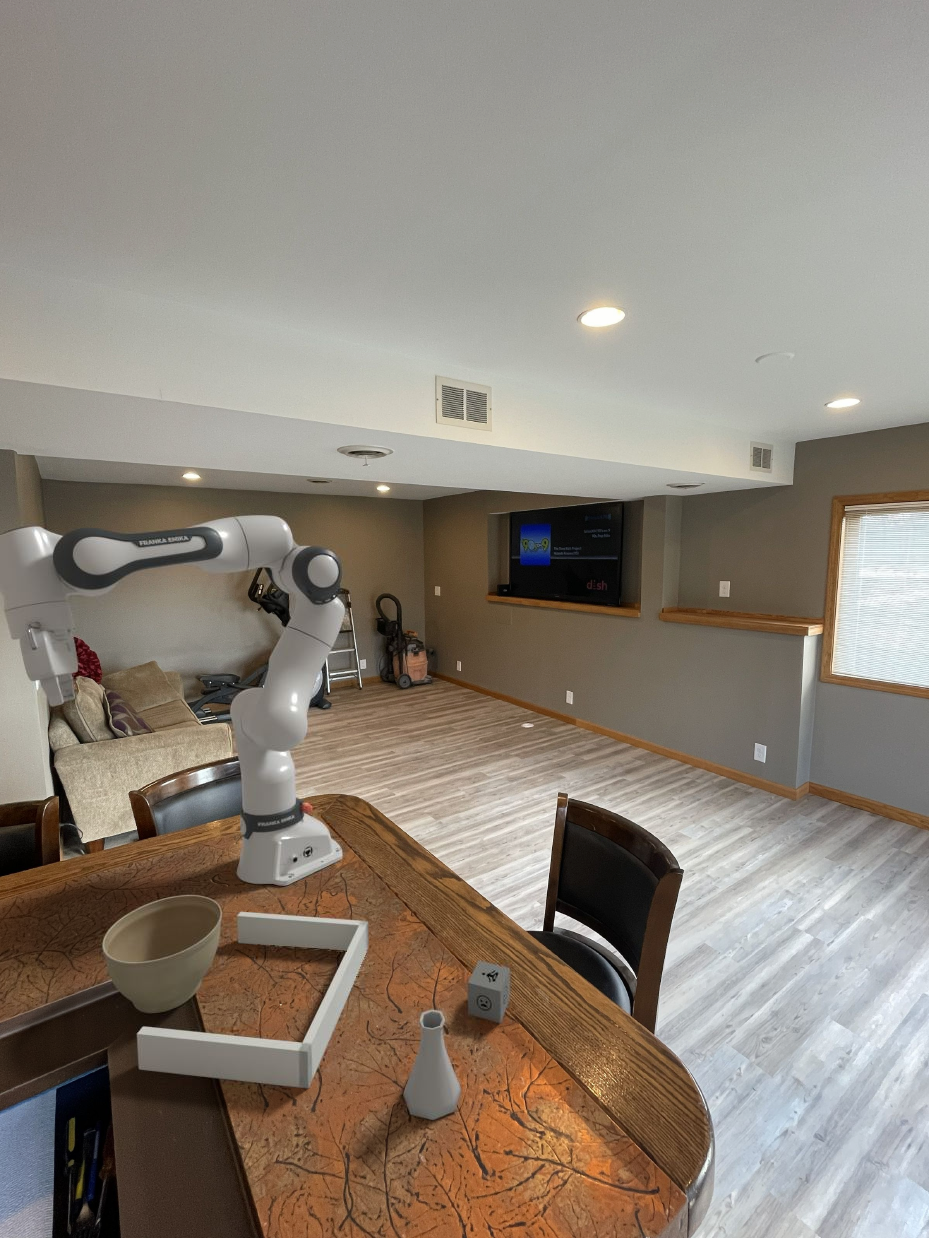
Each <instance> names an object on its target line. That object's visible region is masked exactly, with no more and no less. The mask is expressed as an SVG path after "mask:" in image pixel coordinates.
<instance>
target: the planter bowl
mask: <svg viewBox="0 0 929 1238" xmlns="http://www.w3.org/2000/svg"><path fill="white" fill-rule="evenodd" d="M222 915H223V910H222V908H221V906H220V904H219V903H218V901H216V900H214V899H212V898H210V897H206V896H202V895H196V894H184V895H176V896H169V897H165V898H162V899H158V900H155V901H151V902H149V903H147V904H144V905H142V906H139V907H138V908H136V909H134V910H132V911H131V912H129V913H127V914H126V915H124V916H122V917H120V918H119V919H118V920H117V921H116V922H115V923H114V924H113V925H112V926H111V927H110V928H109V929H108V930H107V931H106V933H105V935H104V937H103V940H102V943H101V944H102V946H101V947H102V953H103V956H104V959H105V964H106V969H107V973H108V975H109V977H110V979H111V981H112V983H113V985H114V987H115V988H116V990H118V992H119V993H120V994H121V995H123V996H124V997H125V998H126V999H128V1000H130V1001H131V1002H132V1004H133V1006H134V1007H135V1009H136V1010H138V1011H139V1012H142V1013H145V1014H158V1013H164V1012H167V1011H170V1010H173V1009H175V1008H178V1007H179V1006H181V1005H183V1004H185V1003H186V1002H188V1001H189V1000H190V999H192V998H193V996H194V995H195V994H196V993H197V992H198V990H199V989H200V987H201V985H202V982H203V978H204V977H205V975H206V974H207V972H208V971H209V969H210V967H211V965H212V963H213V960H214V958H215V955H216V952H217V950H218V946H219V943H220V942H219V941H220V937H221V923H222V919H223V918H222V917H223V916H222Z"/></svg>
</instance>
